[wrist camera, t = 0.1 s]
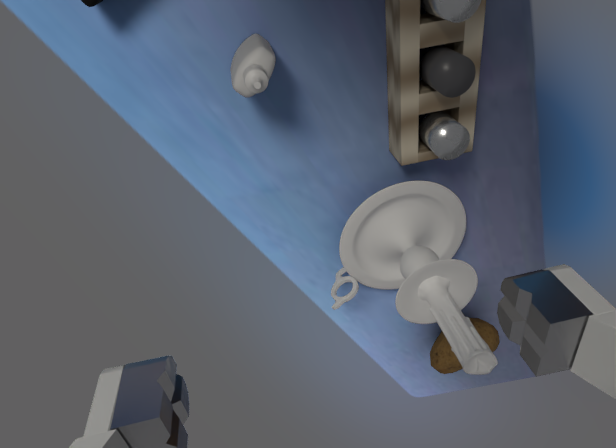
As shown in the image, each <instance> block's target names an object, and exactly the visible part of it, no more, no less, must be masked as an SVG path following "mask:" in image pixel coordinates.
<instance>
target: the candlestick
mask: <svg viewBox="0 0 616 448" xmlns="http://www.w3.org/2000/svg"><path fill="white" fill-rule="evenodd" d="M465 230H466V214H465V210H464V207H463V205H462V203H461V201H460V199H459V198H458V197H457V196H456V195H455V194H454V193H453V192H452V191H451V190H449V189H448V188H446V187H444V186H442V185H440V184H437V183H434V182H429V181H408V182H402V183H398V184H395V185H392V186H389V187H387V188H384V189H382V190H380V191H379V192H377V193H375V194H374V195H372V196H371V197H369V198H368V199H367V200H365V201H364V202H363V203H362V204H361V205H360V206H359V207H358V208H357V209H356V210H355V211H354V212H353V214H352V215H351V216H350V218H349V219H348V221H347V223H346V225H345V227H344V229H343V231H342V235H341V238H340V245H339V251H340V258H341V261H342V264H343V266H344V267H343V268H342V269H340V270H339V271H338V272H337V273H336V281H335V283H334V285H333V287H332V289H331V296H332V297H333V299H334V300H335V301H336V302H335V304H334V305H333V306H332V308H333V309H334V310H335V309H338V308H339V307H340V306H341V305H342V304H343V303H345V302H347V301H349V300H351V299H352V298H353V297H354V296H355V295H356V294H357V292H358V288H359V285H358V282H359V283H361V284H363V285H365V286H368V287H372V288H376V289H399V290H398V292H397V295H396V308H397V311H398V313H399V314H400V315H401V316H402V317H403V318H404V319H406V320H407V321H409V322H412V323H417V324H430V323H436V322H437V323H438V325H439V326H440V328H441V330H442V332H443V333H444V335H445V337H446V339H447V340H448V342H449V344H450V346H451V347H452V348H451V350H452V351H453V352H454V353H455V355H456V357H457V358H458V360H459V362H460V364H461V365H462V368H463V370H464V371H465V372H466V373H468V374H474V375H484V374H488V373H490V372H491V371H492V370H493V368H494V367H495V366H496V365H497V364H498V362H497V359H496V357H495V356H494V354H493V353H492V351H491V350H490V348H489V346H488V344H487V343H486V342H485V341H484V340H483V339H482V338H481V336H480V335H479V333H478V332H477V330H476V329H475V327H474V326H473V324H472V323H471V321H470V319H469V317H465V316H464V315H463V313H462V312H461V310H462V309H463V308H464V307H465V306H466V305H467V304H468V303H469V301H470V300H471V299H472V297H473V296H474V294H475V291H476V289H477V284H478V279H477V274H476V272H475V270H474V269H473V267H472V266H470V265H469V264H468V263H466V262H464V261H461V260H456V259H452V257H453V256H454V255H455V253H456V252H457V250H458V249H459V247H460V245H461V243H462V240H463V238H464V234H465ZM345 272H348V274H349V275H350V276H345V277H342V274H344V273H345ZM357 281H358V282H357ZM346 282H352V283H353V288H352V290H351V292H350V293H349V294H347V295H346V296H343V297H338V296H337V295H336V292H337V290H338V288H339V287H340V286H341V285H342V284H343V283H346Z"/></svg>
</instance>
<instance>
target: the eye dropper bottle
mask: <svg viewBox="0 0 616 448" xmlns="http://www.w3.org/2000/svg"><path fill="white" fill-rule="evenodd" d="M275 60H276V58H275V54H274V52H273V50H272V48H271V46H270V44H269V42H268V41H267V40H265V39H264V38H263V37H262V36H260V35H259V34H253V35H251V36H250V37H248V38H247V39H246V40H245V41H244V42H243V43H242V44H241V45H240V46H239V48H238V49H237V51H236V53H235V55H234V57H233V60H232V64H231V79H232V85H233V88H234V90H235V91H236V92H238V93H239V94H241V95H242V96H244V97H251V96H253V95H255V94H256V93H261V92H263V91H264V90H265V89H266V87H267V86H268V81H269V79H270V77H271V75H272V72H273V70H274V66H275Z"/></svg>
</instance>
